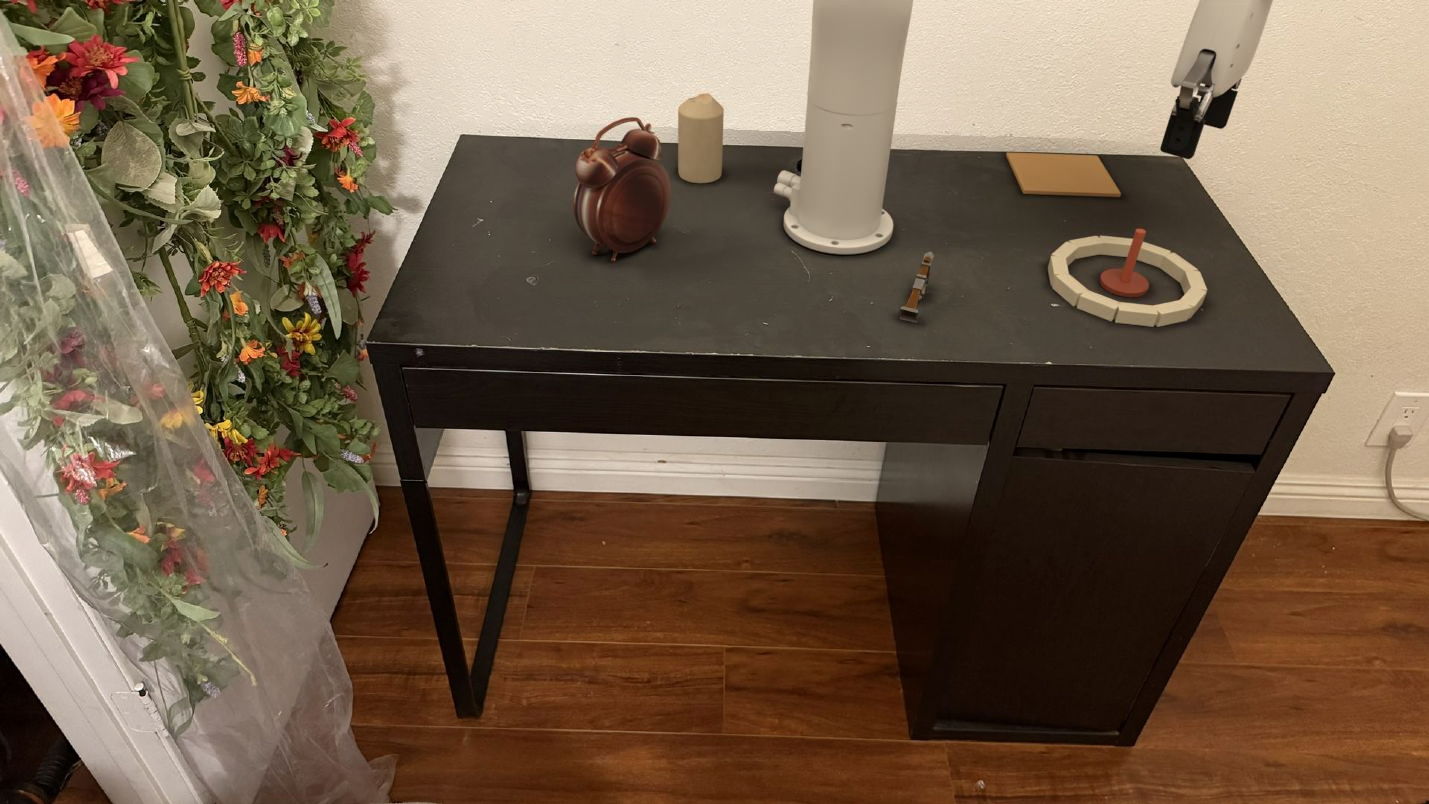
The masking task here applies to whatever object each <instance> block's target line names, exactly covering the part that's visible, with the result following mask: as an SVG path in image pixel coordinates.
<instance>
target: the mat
mask: <svg viewBox="0 0 1429 804" xmlns="http://www.w3.org/2000/svg"><path fill="white" fill-rule="evenodd" d="M1005 157H1006V160H1007V161H1008V163H1009V165H1010V167H1011V170H1012V173H1013V174H1014V176H1015V178H1016V181H1017V183H1018V186H1019V187H1020V190H1021V192H1022V194H1023V195H1044V196H1045V195H1047V196H1076V197H1078V196H1079V197H1101V198H1102V197H1103V198H1105V197H1106V198H1121V195H1122V193H1121V191H1120V190H1119V188H1118V186H1117V185H1116V183H1115V182H1114V180H1113V178H1112V177H1111V175H1110V173H1109V171H1108V170H1107V169H1106V167H1105V166H1104V164H1103V162H1102V161H1101V159H1100V158H1099V156H1098V155H1092V154H1087V155H1086V154H1063V153H1036V152H1035V153H1033V152H1032V153H1031V152H1008V151H1007V152H1006V154H1005Z"/></svg>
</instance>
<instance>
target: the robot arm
mask: <svg viewBox="0 0 1429 804" xmlns="http://www.w3.org/2000/svg"><path fill="white" fill-rule="evenodd" d="M1273 1H1274V0H1199V1H1198V4H1197V6H1196V9H1195V10H1194V13H1193V16H1192V19H1191V21H1190V24H1189V28H1188V30H1187V32H1186V35H1185V38H1184V41H1183V44H1182V47H1181V50H1180V52H1179V56H1178V58H1177V61H1176V64H1175V67H1174V69H1173V73H1172V76H1171V80H1170V84H1171V86H1172V88H1176V89H1177V88H1179V87H1180V89H1179V94H1178V96H1176V98H1175V100H1174V105H1173V106H1172V108H1171V112H1170V115H1169V118H1168V121H1167V125H1166V128H1165V132H1164V134H1163V138H1162V141H1161V145H1160V148H1159V150H1160V152H1161V153H1164V154H1167V155H1172V156H1175V157H1177V158H1182V159H1185V160H1191V159H1192V158H1194V156H1195V154H1196V151H1197V147H1198V144H1199V141H1200V139H1201V135H1202V132H1203V130H1204V127H1205V126H1208V127H1211V128H1216V129H1219V130H1223V129H1224V128H1225V127H1227V125H1228V121H1229V119H1230V116H1231V113H1232V110H1233V107H1234V104H1235V102H1236V99H1237V96H1238V93H1239V91H1238V89H1239V87H1240V86H1241V82H1242V80H1243V77H1244V76H1245V75H1246V73H1247V72H1248V70H1249V69H1250V67H1251V64H1252V62H1253V60H1254V58H1255V55H1256V52H1257V50H1258V46H1259V44H1260V41H1261V38H1262V35H1263V32H1264V30H1265V27H1266V23H1267V20H1268V17H1269V14H1270V11H1271V7H1272V5H1273V3H1274V2H1273ZM913 4H914V0H812V12H811V13H812V15H811V39H810V54H809V55H810V56H809V70H808V71H809V72H808V80H807V81H808V82H807V92H806V95H807V99H806V110H805V122H804V135H803V144H802V145H803V146H802V147H803V148H802V156H801V159H802V160H801V171H800V175H798V174H796V173H794V172H790V171H787V170H785V169H783V170H781V171H780V172H779V174H778V176H777V180H776V182H777V183H775V185H774V186H773V187H774V188H773V194H775V195H777V196H780V197H783V198H787V199H788V200H789V202H790V205H789V207H788V208H787V209H786V211H784V215H783V228H784V231H785V233H786V234H787V235H788V236H789V238H791V239H792V240H793V241H794V242H796V243H798V244H799V245H801V246H803V247H805V248H807V249H810V250H814V251H817V252H820V253H825V254H826V253H827V254H830V255H858V254H865V253H869V252H873V251H875V250H877V249H879V248H881V247H883V246H885V245H886V244H887V243H888V242H889V241H890V240H891V238H892V236H893V231H894V220H893V219H892V217H891V215H890V214H889V213H888V212H887V211H886V210H885V209H884V208H883V204H884V200H885V199H884V198H885V193H886V191H885V190H886V184H887V178H888V170H889V163H890V156H891V150H892V143H893V135H894V129H895V128H894V127H895V121H896V114H897V107H898V97H899V90H900V84H901V76H902V70H903V62H904V57H905V51H906V44H907V39H908V35H909V29H910V24H911V17H912V12H913ZM1201 84H1202V85H1201ZM1199 97H1200V98H1199Z"/></svg>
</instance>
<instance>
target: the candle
mask: <svg viewBox="0 0 1429 804" xmlns="http://www.w3.org/2000/svg"><path fill="white" fill-rule="evenodd" d="M724 113H725V109H724V107H723V106H722V104H720V102H718V100H716V99H715V98H714V97H713V96H712V95H711V94H710V93H709V92H707V93H705V92H704V93H700V94H698V95H697V96H693V97H689V98H688V99H685V100H684V101H683V102H682V103H681V104H679V106H678V108H677V123H678V124H677V127H678V128H677V138H678V139H677V168H678V169H677V170H678V171H677V172H678V176H679V177H680V178H681V179H682V180H684V181H685V182H689V183H694V184H708V183H713V182H715V181H717V180H719V179H721V177H722V173H723V149H724V147H723V146H724V117H725V115H724Z"/></svg>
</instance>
